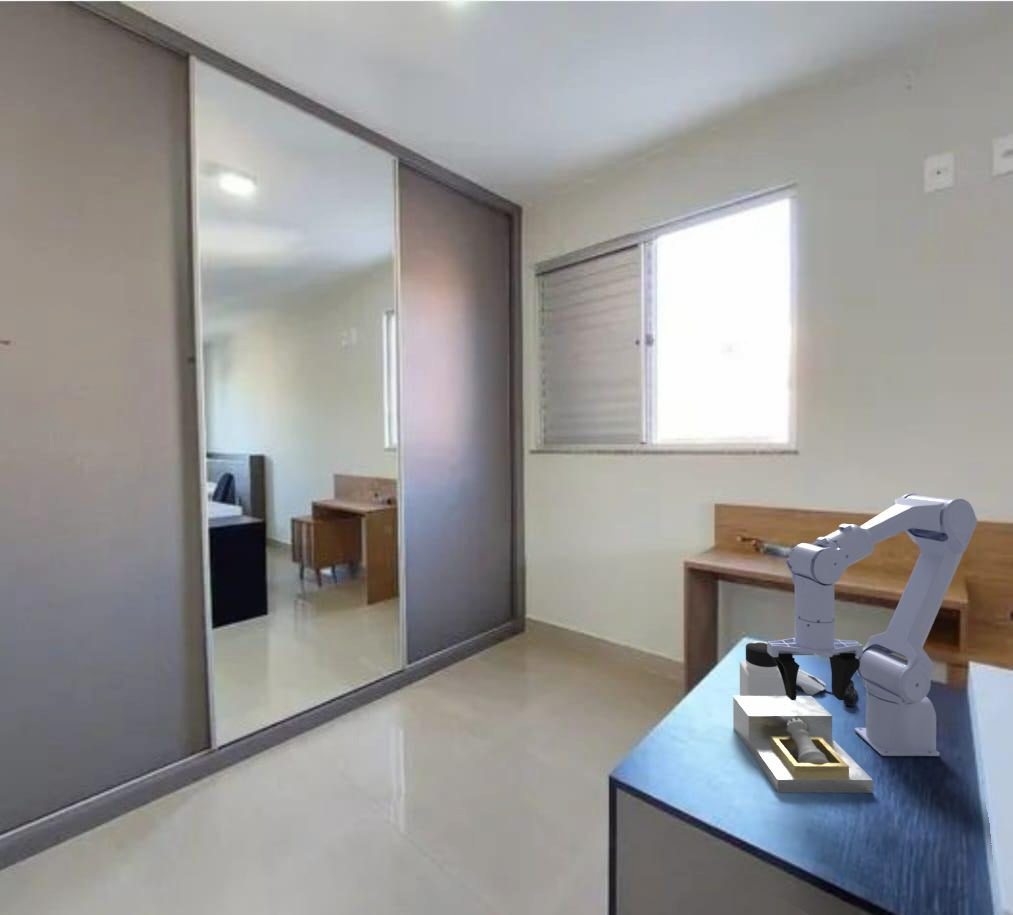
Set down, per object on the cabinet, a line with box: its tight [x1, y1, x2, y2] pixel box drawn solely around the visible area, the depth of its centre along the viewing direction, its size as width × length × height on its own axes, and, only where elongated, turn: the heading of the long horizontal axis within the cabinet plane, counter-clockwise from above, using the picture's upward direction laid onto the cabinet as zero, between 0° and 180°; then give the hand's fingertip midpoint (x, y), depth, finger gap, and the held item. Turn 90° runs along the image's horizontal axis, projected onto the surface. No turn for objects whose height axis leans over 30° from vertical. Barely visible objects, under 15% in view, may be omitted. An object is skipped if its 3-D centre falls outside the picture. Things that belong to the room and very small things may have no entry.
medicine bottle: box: [739, 640, 787, 696], centre depth 108 cm, size 7×7×12 cm
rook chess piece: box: [787, 718, 829, 763], centre depth 87 cm, size 4×4×8 cm
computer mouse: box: [796, 668, 858, 708], centre depth 114 cm, size 10×18×4 cm, turn 54°
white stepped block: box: [732, 695, 874, 794], centre depth 90 cm, size 14×18×6 cm
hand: (814, 697), depth 90 cm, fingers open, 7 cm apart
